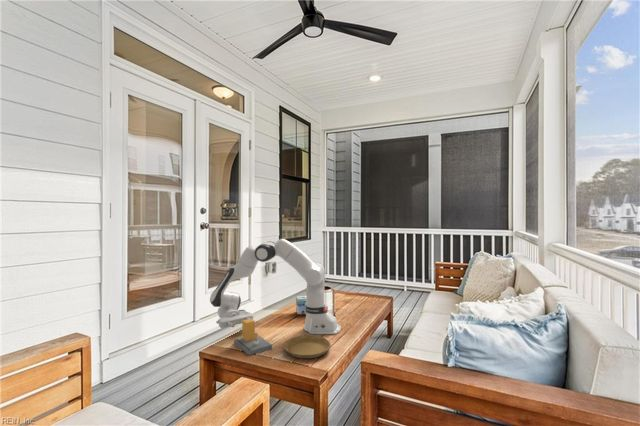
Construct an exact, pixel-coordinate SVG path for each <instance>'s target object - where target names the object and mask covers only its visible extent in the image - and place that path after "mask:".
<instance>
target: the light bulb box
mask: <svg viewBox="0 0 640 426" xmlns="http://www.w3.org/2000/svg"><path fill="white" fill-rule="evenodd" d="M295 300H296V301H295V307H296V309H295V312H296V314H297V315H306V312H305V307H306V295H303V296H296V299H295Z"/></svg>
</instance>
